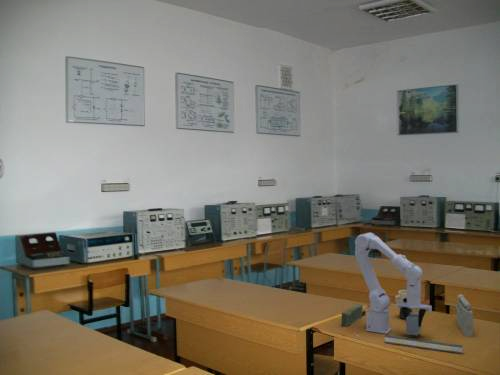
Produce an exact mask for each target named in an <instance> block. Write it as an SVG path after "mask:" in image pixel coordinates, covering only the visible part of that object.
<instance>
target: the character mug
mask: <svg viewBox="0 0 500 375" xmlns="http://www.w3.org/2000/svg"><path fill="white" fill-rule="evenodd" d="M397 292H398V293H397V294H398V295H395V299H394V301H395V303H397V302H403V303H407V289H401V290H398V291H397ZM401 309H402V308H400V307H399V317H400V319H404V320H405V317H404V315H403V313H402V311H401ZM410 313H413V309H409V314H410Z"/></svg>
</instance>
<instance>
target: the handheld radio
mask: <svg viewBox="0 0 500 375" xmlns="http://www.w3.org/2000/svg"><path fill="white" fill-rule="evenodd" d="M363 305H364V304H363V303H360V302H359V303H358V304H356V305H355V306H352V307H351V308H349V309H346V310H345V311H343V312H342V313H341V327H343V328H346V326H347V327H348V326H350V325H352V324H354V323H355V322H358V320H360V319H362V318H363V315H365V314H367V311H365V310H364V311H363V308H364V307H363Z"/></svg>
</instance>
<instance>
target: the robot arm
mask: <svg viewBox="0 0 500 375" xmlns="http://www.w3.org/2000/svg"><path fill="white" fill-rule="evenodd" d="M354 244H355V247H354V248H355V249H354V257H355V259H356V262H357V264H358V267H359V269H360V270H361V271H360V272H361V273H362V276H363V279H364V281H365V284H366V286H367V288H368V291H369V294H368V298H369V306H370V309H368V310H367V311H366V329H365V331H366V332H372V333H377V334H385V335H388V333H390V331H392V327H390V319H389V318H390V317H389V315H390V313H389V312H390V311H389V307H390V306H391V303H392V302H391V298H390V297H389V295H388V294H387V293H386V291H385V290H384V289H383V288H382V286H381V285H380V282H379V280H378V277H377V274H376V271H375V270H374V267H373V264H372V263H371V260H370V258H369V253H370V251H371V250H378V252H380V253H382V254H383V255H384V256H385V257H387V258H388V259H390V260H391V263H392V265H393V266H394V267H395V268H397V270H399V271H400V272H401V273H402V274H404V276H405V278H406V290H407V303H403V302H395V303H396V304H395V305H396V308H398V309H400V308H402V309H401V311H402V313H403V315H404V317H405V319H404V320H405V322H406V317H407V316H408V315H409V309H412V310H417V311H418V313H419V327H421V328H422V323H423V319H424V316H425V314H426V313H427V311H428V312H432V310H433V309H432V308H433V307H432V305H427V304H423V303H422V304H421V302H422V297H421V296H422V282H421V281H422V280H421V279H422V277H423V274H424V273H423V269H422V268H421V267H420V265H416V264H415V263H413V262H411V261H410V260H409V259H407V256H406V255H404V254H403V255H402V254H401V253H400V254H397V253H396V252H395V251H394V250H392V249H391V247H389V246H388V245H387V244H386V243H385V242H384V241H382V239H381V238H380V237H379V236H378V235H376V234H375V233H373V232H366V233H363V234H362V233H361V234H358V235H357V237H356V238H355V240H354Z"/></svg>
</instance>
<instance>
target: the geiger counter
mask: <svg viewBox="0 0 500 375" xmlns="http://www.w3.org/2000/svg"><path fill="white" fill-rule="evenodd" d="M454 308H455V311H456V324H457V326H458V327H459V329H460V330H461V332H462V334H463V335H464V336H465V337H469V338H470V337H471V338H473V337H474V332H475V331H474V312H473V310H472V305H471V304H470V301H468V299H466V296H464V295H463V294H458V295H457V301H456V305H455V306H454Z"/></svg>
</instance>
